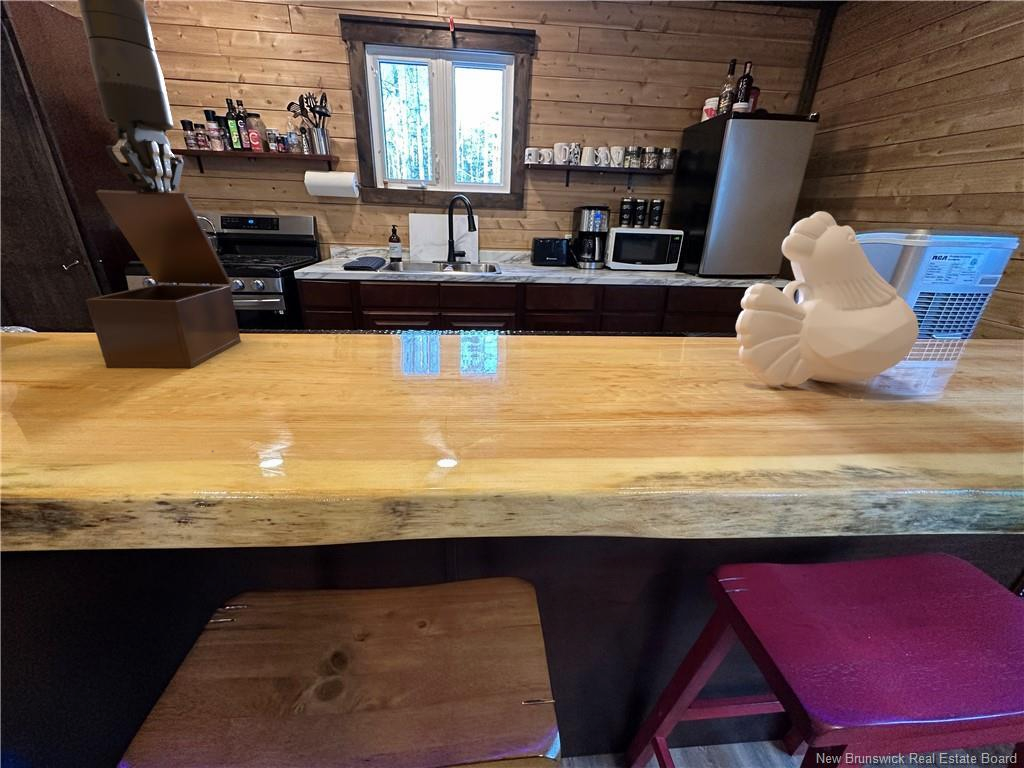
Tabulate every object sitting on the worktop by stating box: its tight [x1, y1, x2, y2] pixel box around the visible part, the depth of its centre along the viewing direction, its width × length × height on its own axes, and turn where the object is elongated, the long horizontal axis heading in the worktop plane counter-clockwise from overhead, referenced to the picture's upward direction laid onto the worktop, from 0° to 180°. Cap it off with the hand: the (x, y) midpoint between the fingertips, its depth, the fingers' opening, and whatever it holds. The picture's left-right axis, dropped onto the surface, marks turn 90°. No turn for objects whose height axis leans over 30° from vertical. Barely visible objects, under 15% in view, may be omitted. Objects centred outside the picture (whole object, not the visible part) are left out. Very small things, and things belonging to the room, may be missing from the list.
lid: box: [95, 189, 231, 285], centre depth 67 cm, size 15×12×1 cm
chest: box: [85, 283, 242, 369], centre depth 68 cm, size 15×12×10 cm
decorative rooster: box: [735, 210, 920, 388], centre depth 67 cm, size 25×16×25 cm
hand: (163, 221), depth 66 cm, fingers closed
